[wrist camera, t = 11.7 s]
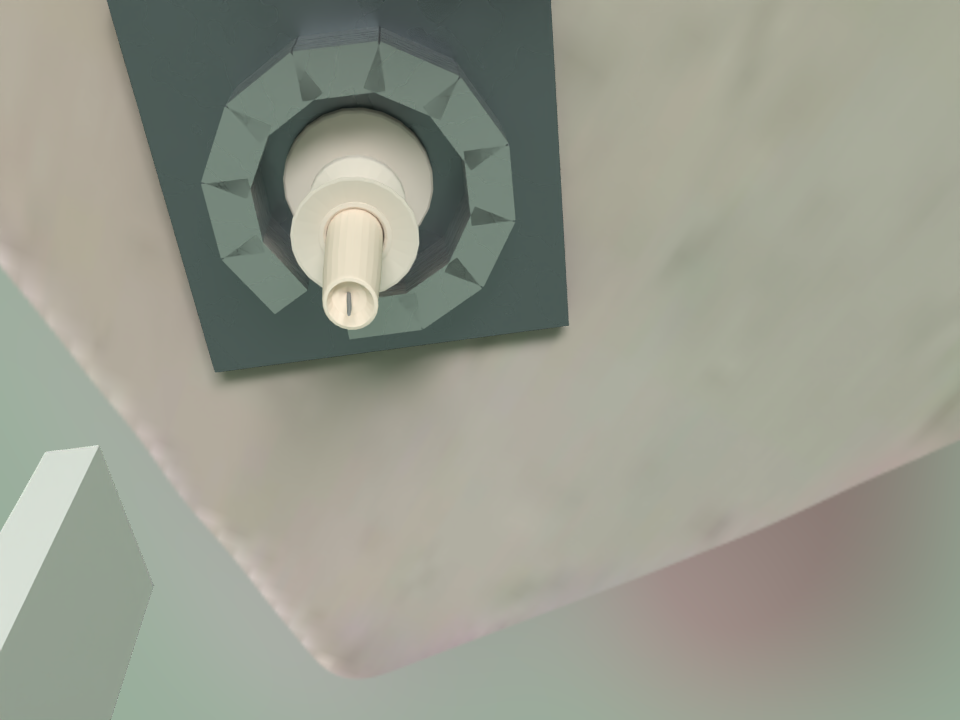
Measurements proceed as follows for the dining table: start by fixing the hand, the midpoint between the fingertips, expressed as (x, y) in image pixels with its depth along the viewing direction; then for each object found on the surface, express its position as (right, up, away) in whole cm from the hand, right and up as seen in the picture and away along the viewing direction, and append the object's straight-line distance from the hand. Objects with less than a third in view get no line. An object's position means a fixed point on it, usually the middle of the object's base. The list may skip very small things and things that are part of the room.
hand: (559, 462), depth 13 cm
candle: (-6, +8, +19) cm, 21 cm away
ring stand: (-5, +8, +19) cm, 22 cm away
